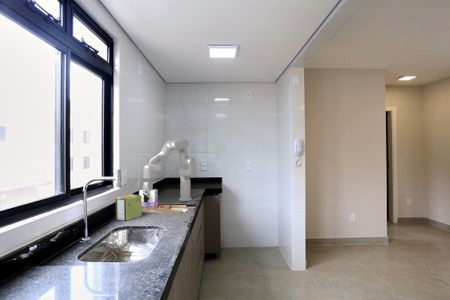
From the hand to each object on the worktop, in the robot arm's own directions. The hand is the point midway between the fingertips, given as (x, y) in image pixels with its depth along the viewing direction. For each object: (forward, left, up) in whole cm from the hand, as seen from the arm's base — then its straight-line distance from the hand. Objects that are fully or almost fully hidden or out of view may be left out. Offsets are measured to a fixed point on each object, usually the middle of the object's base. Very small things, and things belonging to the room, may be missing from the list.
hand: (148, 201), depth 210 cm
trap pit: (0, +13, -7) cm, 15 cm away
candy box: (0, 0, -7) cm, 7 cm away
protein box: (+23, -5, -8) cm, 24 cm away
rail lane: (0, +11, -7) cm, 13 cm away
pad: (0, +25, -7) cm, 26 cm away
